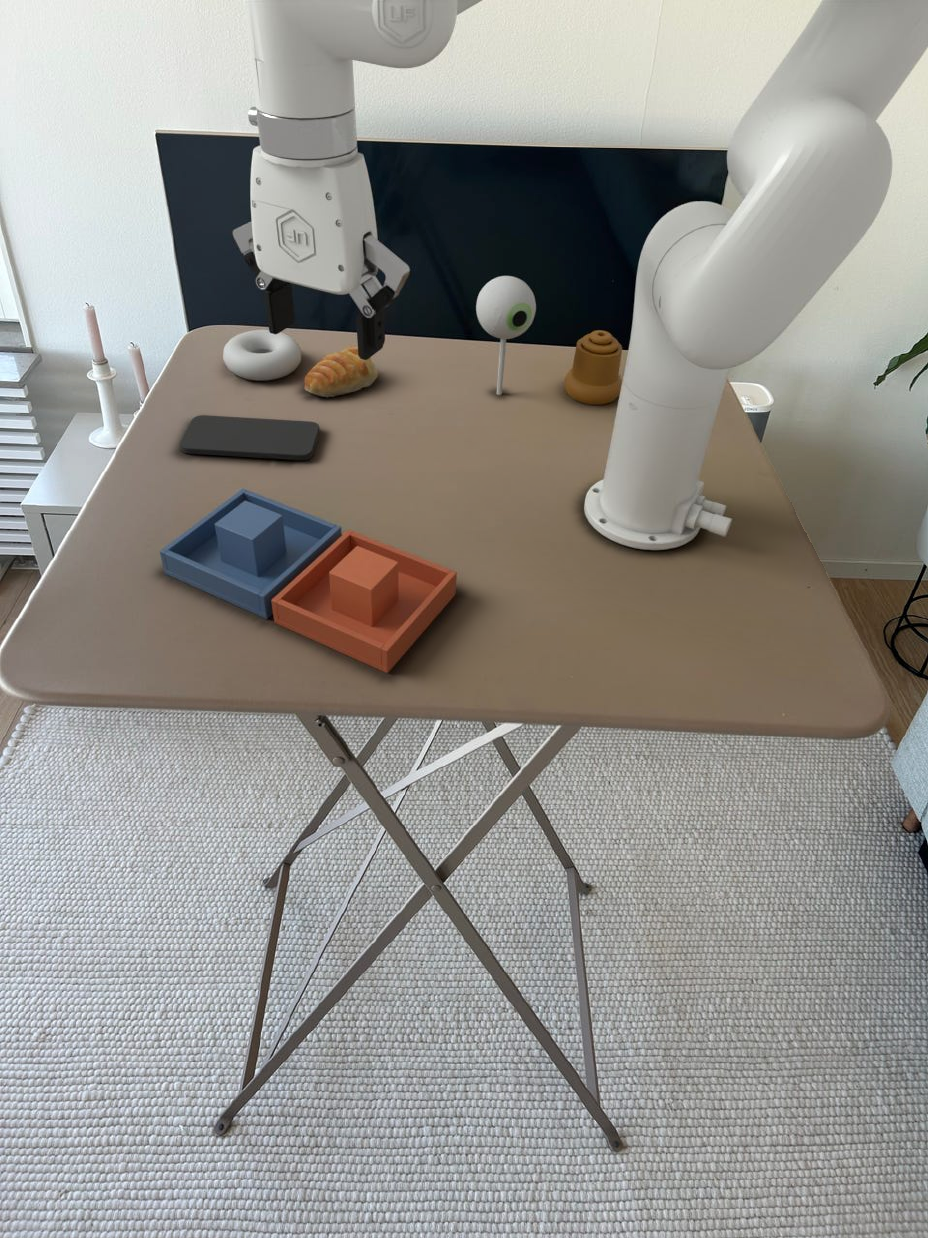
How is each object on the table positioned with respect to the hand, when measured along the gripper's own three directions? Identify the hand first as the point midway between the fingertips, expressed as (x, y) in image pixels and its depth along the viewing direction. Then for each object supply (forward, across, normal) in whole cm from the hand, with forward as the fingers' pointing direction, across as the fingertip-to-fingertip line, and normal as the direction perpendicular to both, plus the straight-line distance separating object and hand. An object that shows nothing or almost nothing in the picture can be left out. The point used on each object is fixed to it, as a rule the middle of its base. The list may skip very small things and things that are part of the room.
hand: (326, 340), depth 80 cm
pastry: (+19, -15, +23) cm, 33 cm away
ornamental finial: (+20, +13, +38) cm, 45 cm away
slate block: (+18, -2, -11) cm, 22 cm away
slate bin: (+19, -2, -11) cm, 22 cm away
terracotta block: (+18, +10, -12) cm, 24 cm away
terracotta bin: (+19, +11, -12) cm, 25 cm away
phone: (+19, -16, +6) cm, 25 cm away
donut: (+19, -26, +21) cm, 38 cm away
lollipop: (+20, +3, +32) cm, 37 cm away
